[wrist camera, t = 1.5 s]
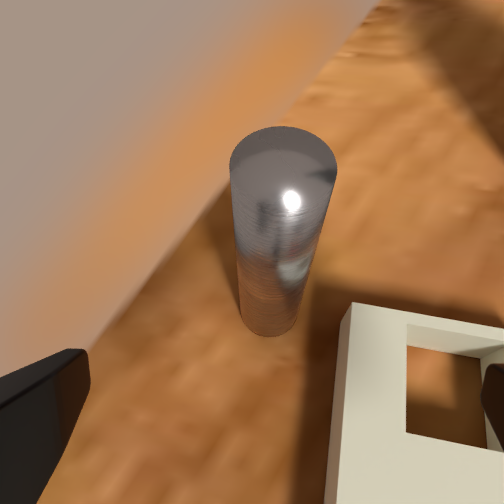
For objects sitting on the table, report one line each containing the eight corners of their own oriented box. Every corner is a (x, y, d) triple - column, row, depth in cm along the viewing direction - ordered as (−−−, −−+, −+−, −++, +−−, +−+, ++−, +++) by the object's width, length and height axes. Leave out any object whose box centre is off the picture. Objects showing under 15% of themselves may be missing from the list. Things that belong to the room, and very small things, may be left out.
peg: (293, 342, 21) (331, 217, 11) (234, 331, 22) (218, 199, 11) (301, 288, 23) (341, 133, 12) (246, 278, 23) (241, 120, 13)
